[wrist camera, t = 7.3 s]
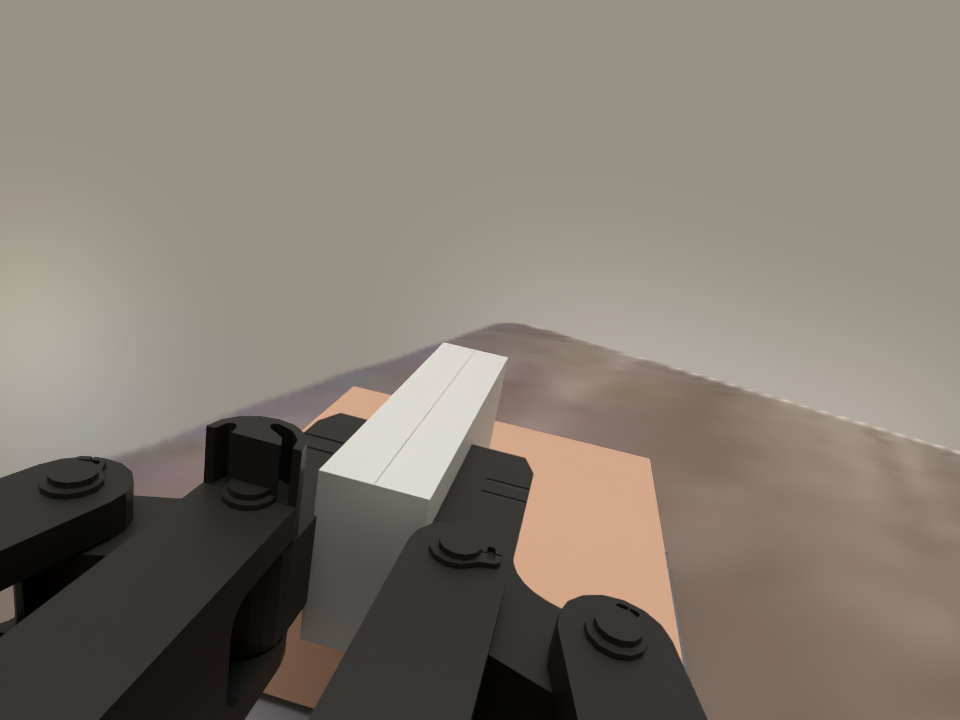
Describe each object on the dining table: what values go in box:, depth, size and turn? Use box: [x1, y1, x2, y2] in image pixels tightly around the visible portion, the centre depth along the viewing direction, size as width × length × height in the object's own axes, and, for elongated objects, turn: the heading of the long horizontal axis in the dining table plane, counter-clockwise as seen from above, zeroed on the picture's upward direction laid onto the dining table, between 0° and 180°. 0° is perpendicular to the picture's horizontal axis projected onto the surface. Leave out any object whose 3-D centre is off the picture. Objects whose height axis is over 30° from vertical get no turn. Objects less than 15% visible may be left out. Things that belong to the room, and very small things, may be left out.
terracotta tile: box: [263, 386, 683, 708], centre depth 20 cm, size 12×3×12 cm
